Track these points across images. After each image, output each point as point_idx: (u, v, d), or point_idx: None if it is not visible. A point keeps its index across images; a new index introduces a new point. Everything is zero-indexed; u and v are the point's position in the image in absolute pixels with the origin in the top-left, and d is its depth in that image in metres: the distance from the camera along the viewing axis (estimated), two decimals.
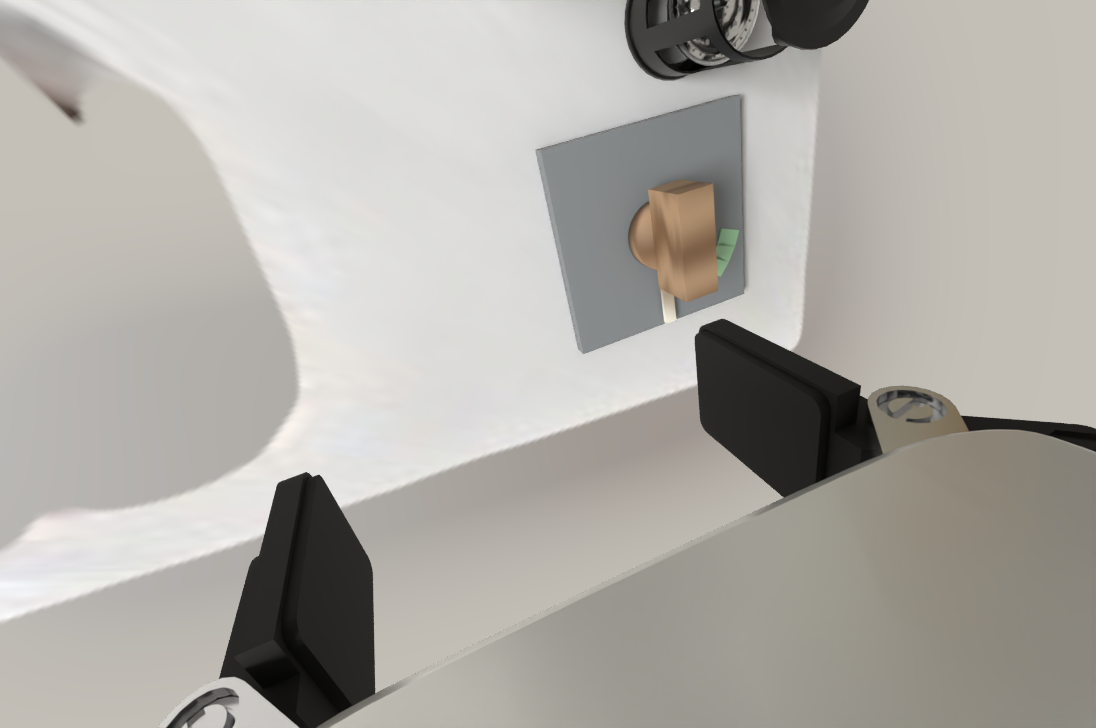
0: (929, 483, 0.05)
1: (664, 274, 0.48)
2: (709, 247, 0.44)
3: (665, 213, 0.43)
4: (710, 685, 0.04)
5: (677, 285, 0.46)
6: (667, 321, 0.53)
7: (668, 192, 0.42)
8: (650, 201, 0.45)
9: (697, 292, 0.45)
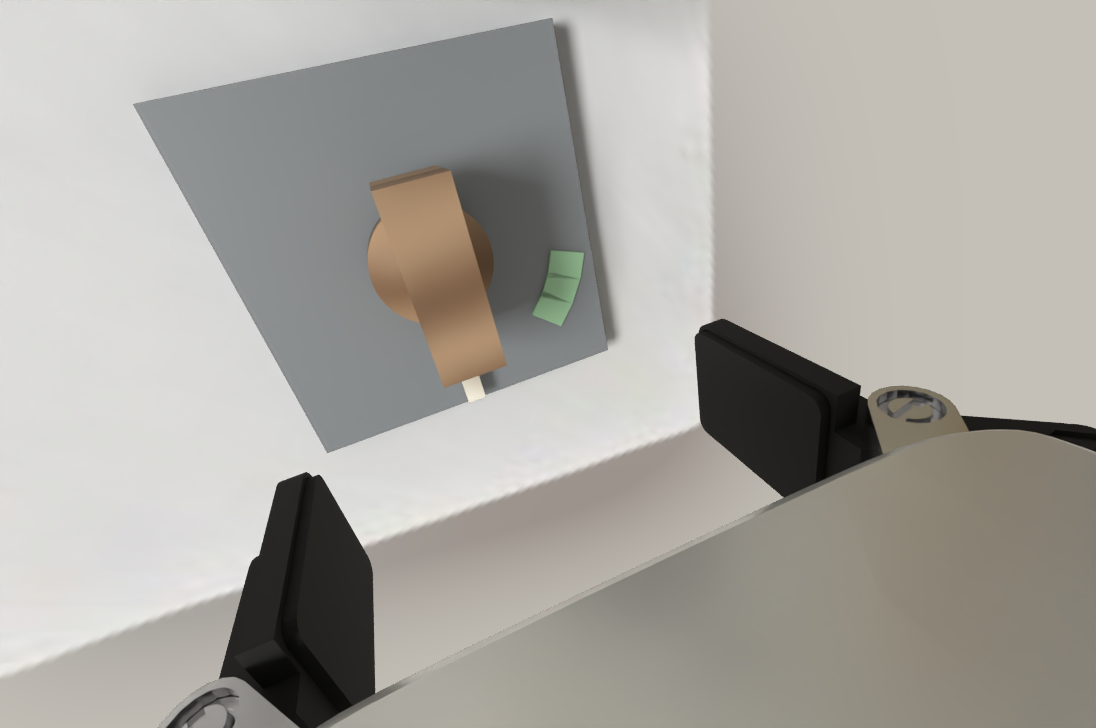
0: (929, 484, 0.05)
1: None
2: (470, 291, 0.23)
3: None
4: (710, 686, 0.04)
5: None
6: (469, 399, 0.33)
7: (373, 187, 0.22)
8: None
9: (463, 370, 0.25)
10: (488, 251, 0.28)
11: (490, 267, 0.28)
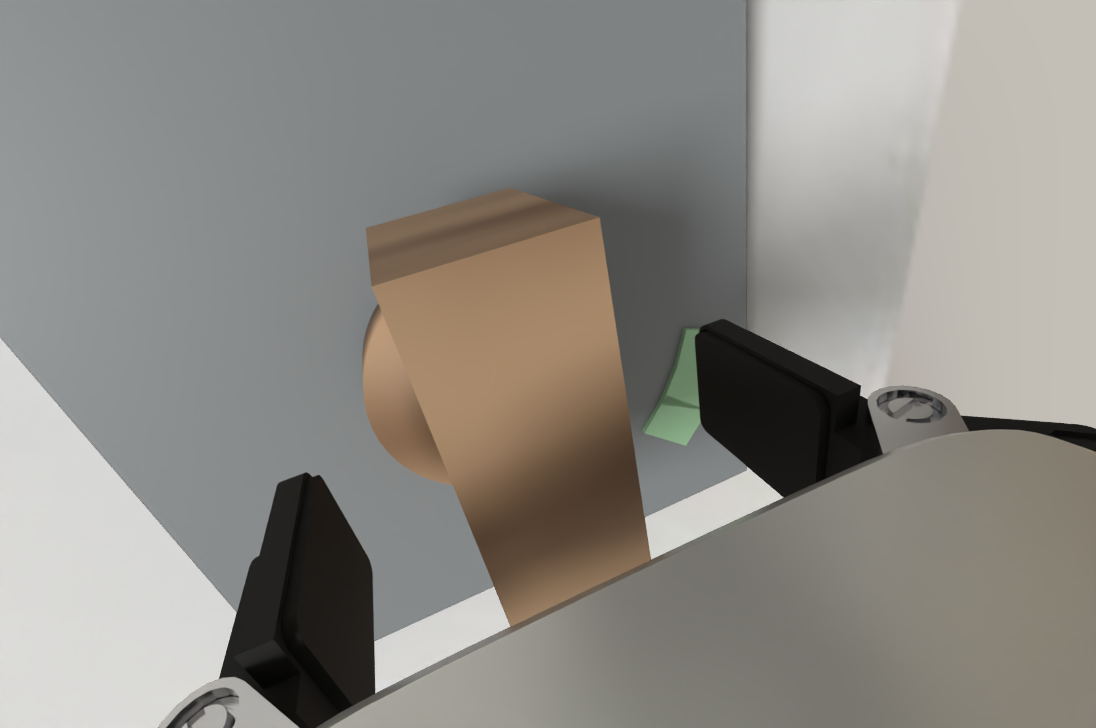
0: (928, 484, 0.05)
1: None
2: (608, 493, 0.10)
3: None
4: (710, 686, 0.04)
5: None
6: None
7: (377, 257, 0.08)
8: None
9: None
10: None
11: None
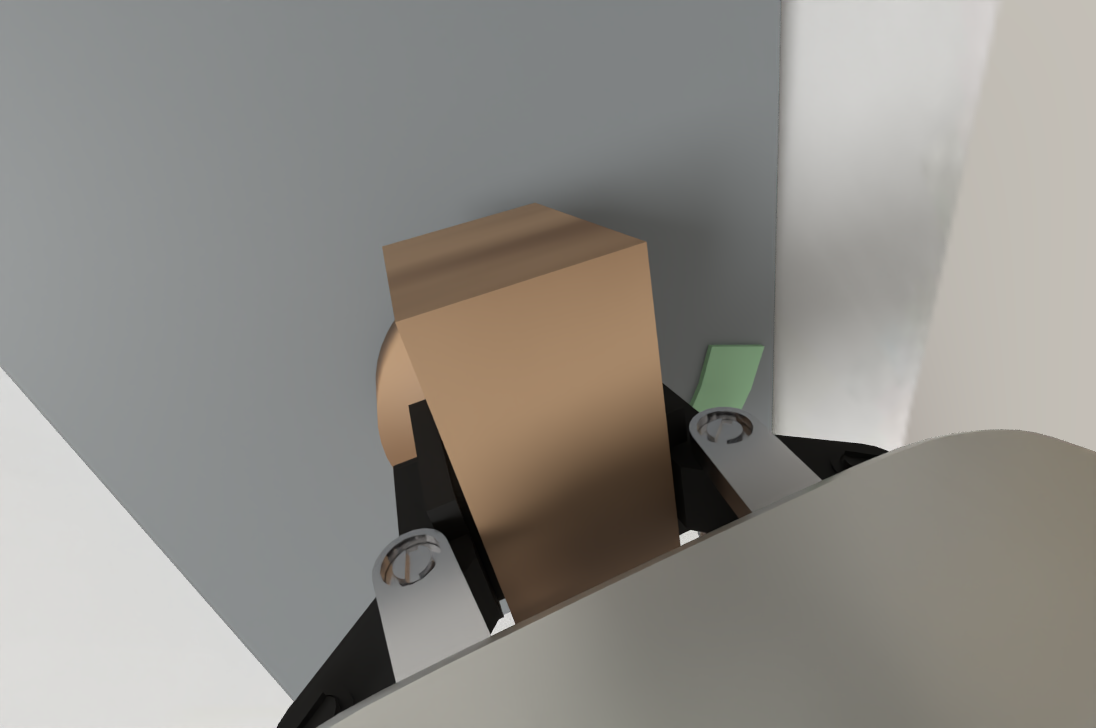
0: (929, 484, 0.05)
1: None
2: (644, 536, 0.09)
3: None
4: (710, 685, 0.04)
5: None
6: None
7: (398, 284, 0.07)
8: None
9: None
10: None
11: None
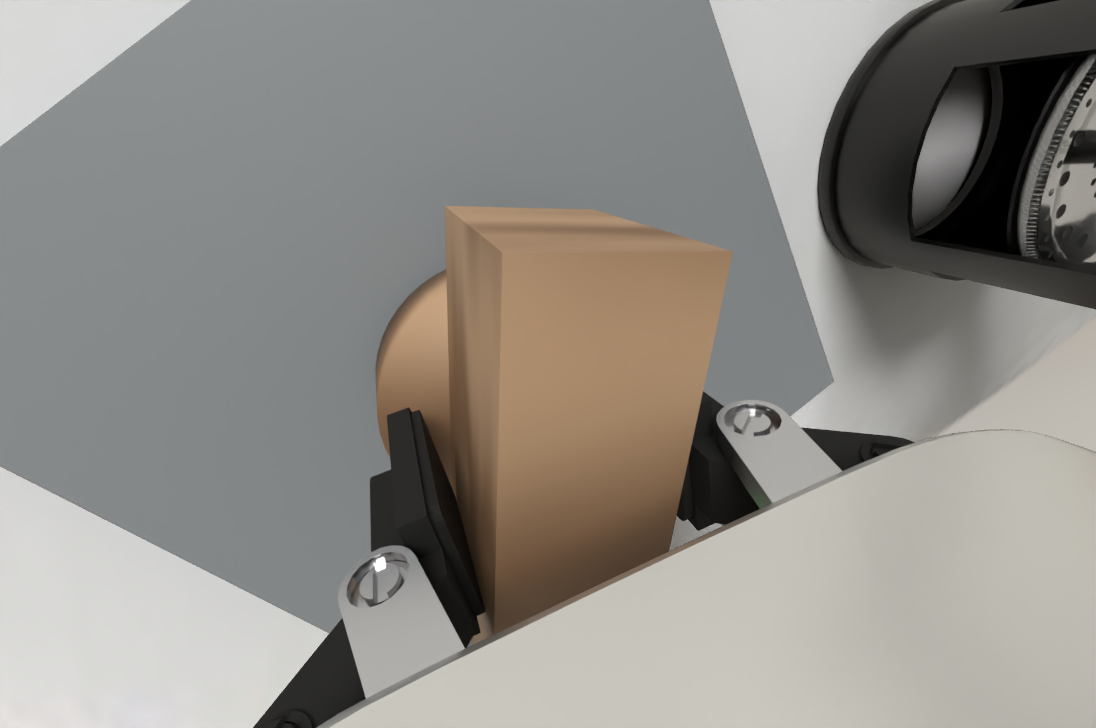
0: (929, 484, 0.05)
1: None
2: (639, 543, 0.09)
3: (469, 333, 0.09)
4: (710, 686, 0.04)
5: None
6: None
7: (484, 231, 0.07)
8: (447, 259, 0.10)
9: None
10: None
11: None
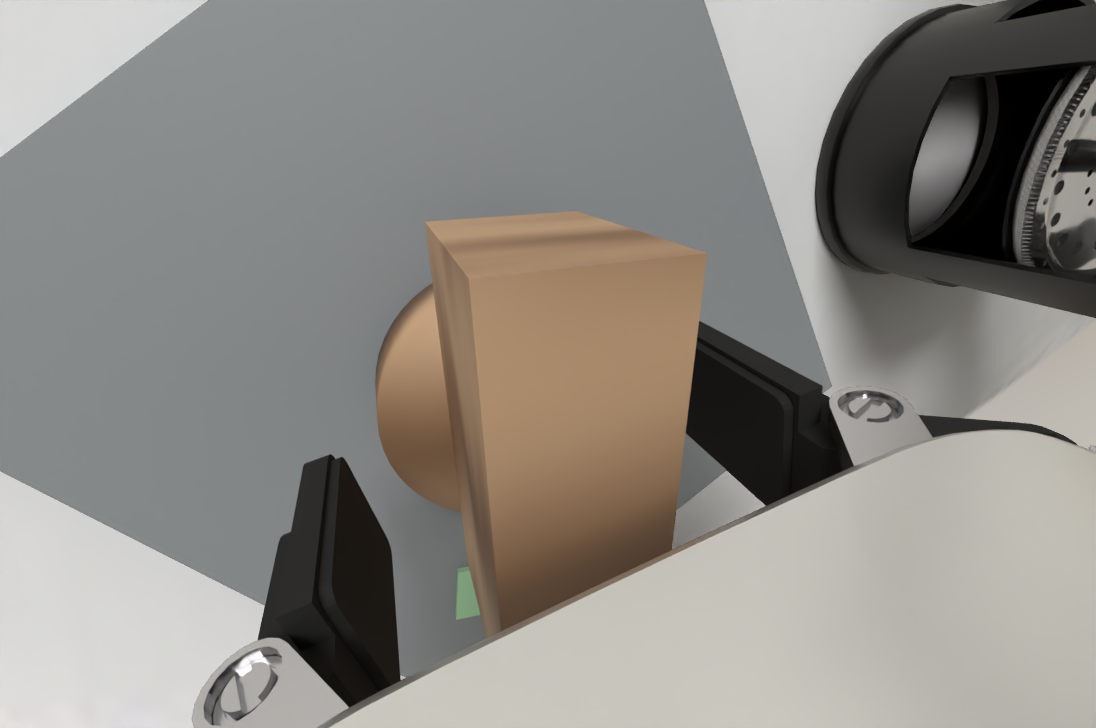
0: (929, 484, 0.05)
1: (471, 550, 0.12)
2: (639, 545, 0.09)
3: (454, 350, 0.09)
4: (710, 685, 0.04)
5: None
6: None
7: (457, 251, 0.07)
8: (432, 274, 0.11)
9: None
10: None
11: None
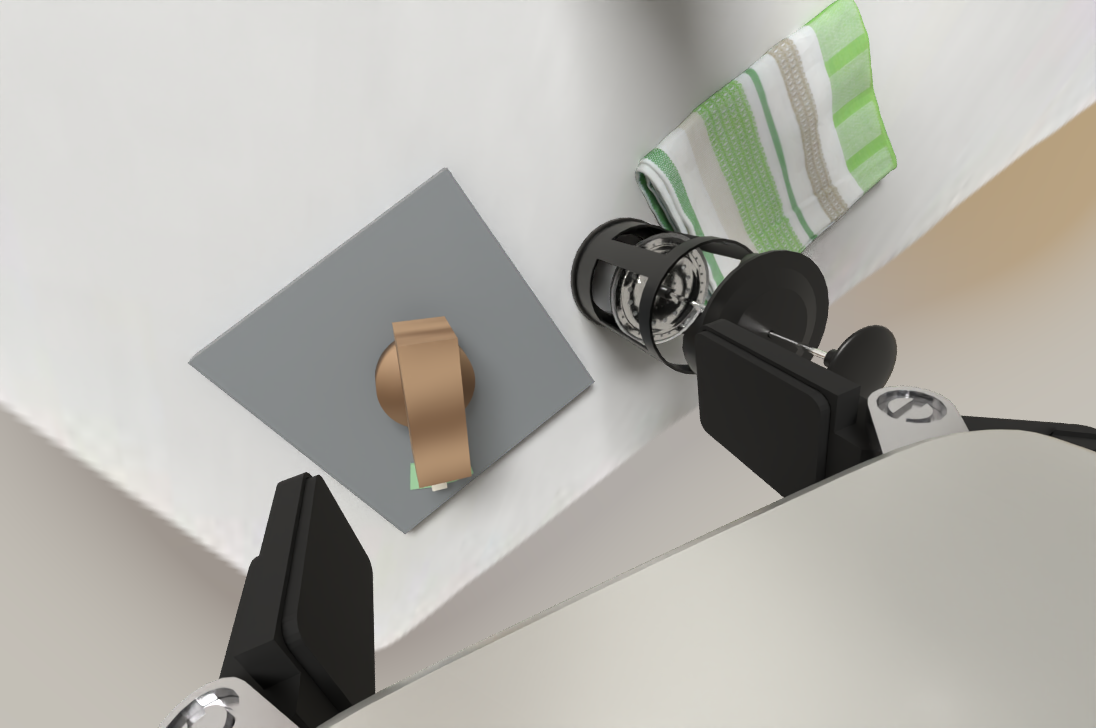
0: (929, 484, 0.05)
1: (410, 437, 0.34)
2: (454, 420, 0.31)
3: (399, 363, 0.31)
4: (709, 685, 0.04)
5: (414, 460, 0.32)
6: (433, 488, 0.39)
7: (398, 337, 0.29)
8: (394, 338, 0.32)
9: (436, 476, 0.32)
10: (472, 380, 0.36)
11: (471, 391, 0.36)
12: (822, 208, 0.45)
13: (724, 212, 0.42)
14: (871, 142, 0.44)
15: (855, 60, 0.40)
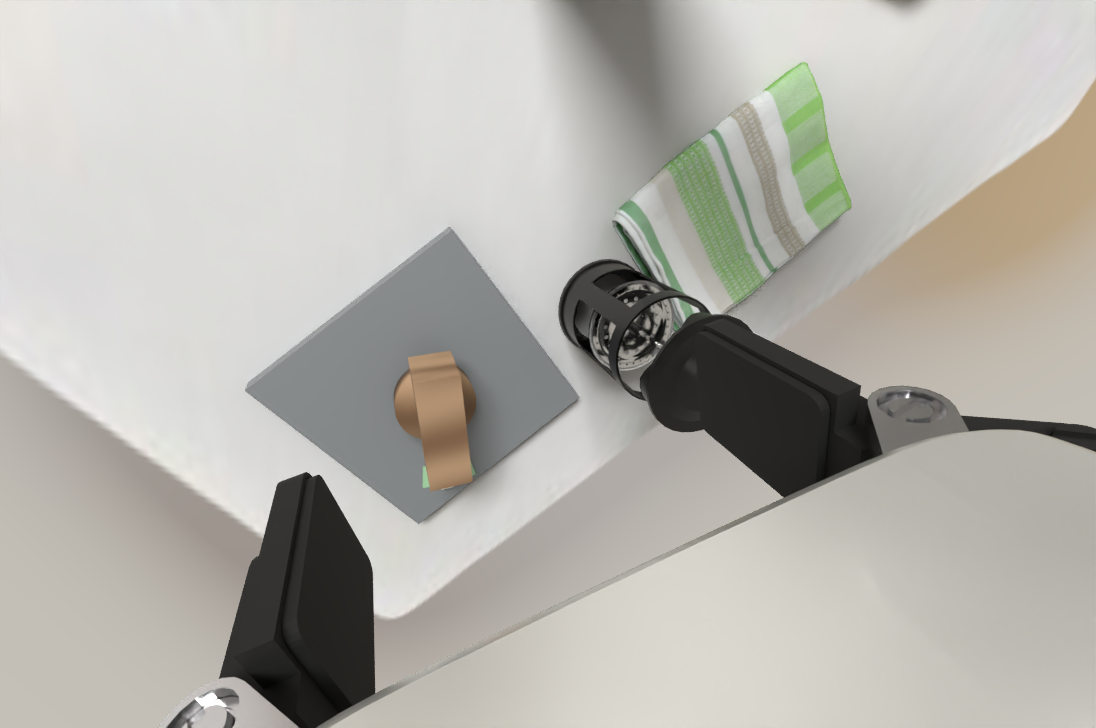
0: (929, 484, 0.05)
1: None
2: (458, 438, 0.38)
3: None
4: (710, 685, 0.04)
5: (426, 468, 0.40)
6: None
7: (412, 373, 0.36)
8: None
9: (444, 482, 0.39)
10: (473, 400, 0.43)
11: (473, 410, 0.43)
12: (782, 245, 0.50)
13: (692, 251, 0.48)
14: (827, 187, 0.50)
15: (810, 119, 0.45)
